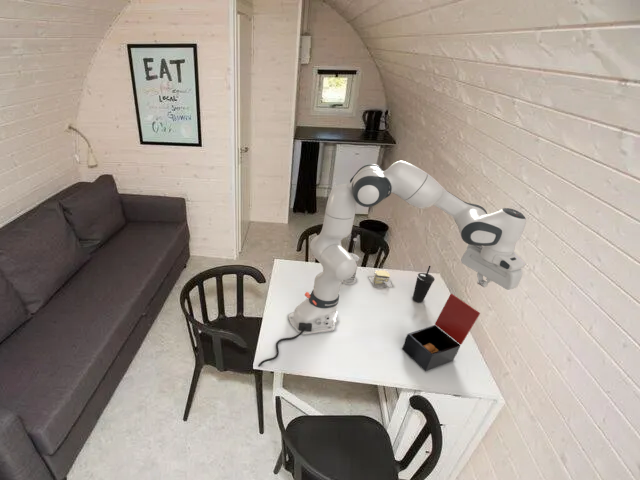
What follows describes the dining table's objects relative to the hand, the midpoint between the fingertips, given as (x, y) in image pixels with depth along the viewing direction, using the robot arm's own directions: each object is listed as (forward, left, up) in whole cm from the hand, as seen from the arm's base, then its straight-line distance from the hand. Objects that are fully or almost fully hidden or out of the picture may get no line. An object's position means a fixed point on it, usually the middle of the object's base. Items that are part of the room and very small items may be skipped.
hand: (481, 285), depth 132 cm
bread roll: (-16, 0, -31) cm, 35 cm away
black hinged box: (-14, 0, -32) cm, 35 cm away
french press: (-13, +58, -32) cm, 67 cm away
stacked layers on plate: (+3, +49, -32) cm, 58 cm away
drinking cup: (+10, +30, -32) cm, 45 cm away
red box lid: (-6, 0, -15) cm, 16 cm away
